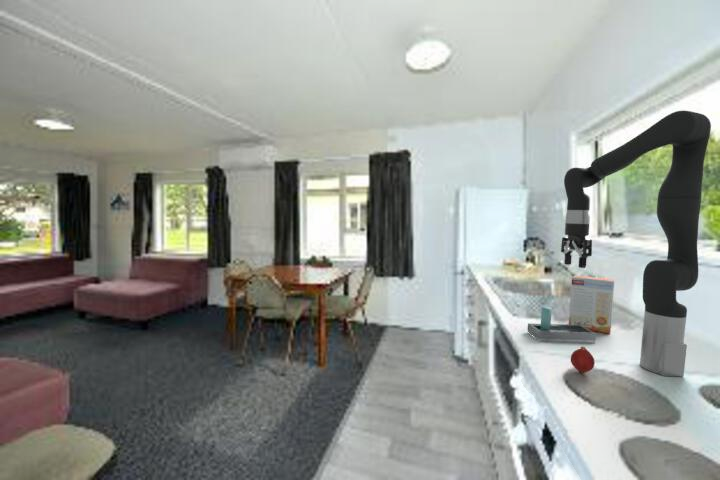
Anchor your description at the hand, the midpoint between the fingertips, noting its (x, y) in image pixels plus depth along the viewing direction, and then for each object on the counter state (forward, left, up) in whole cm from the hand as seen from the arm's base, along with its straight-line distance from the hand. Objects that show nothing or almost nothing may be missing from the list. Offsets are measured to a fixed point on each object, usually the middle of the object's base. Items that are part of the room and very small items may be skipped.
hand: (574, 266), depth 127 cm
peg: (-2, +11, -26) cm, 28 cm away
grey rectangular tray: (-2, +5, -27) cm, 27 cm away
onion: (-31, +14, -27) cm, 44 cm away
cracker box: (+9, -13, -27) cm, 31 cm away
